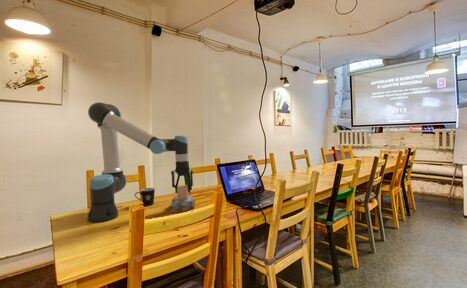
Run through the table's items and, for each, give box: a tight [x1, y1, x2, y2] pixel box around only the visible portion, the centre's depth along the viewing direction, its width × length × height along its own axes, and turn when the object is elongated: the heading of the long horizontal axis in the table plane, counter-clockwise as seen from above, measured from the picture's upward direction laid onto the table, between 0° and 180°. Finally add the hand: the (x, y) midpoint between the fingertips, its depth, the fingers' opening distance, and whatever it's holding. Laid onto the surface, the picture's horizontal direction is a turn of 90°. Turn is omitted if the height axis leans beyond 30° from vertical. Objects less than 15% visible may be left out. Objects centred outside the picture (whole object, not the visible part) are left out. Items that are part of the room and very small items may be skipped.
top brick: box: [178, 184, 188, 200], centre depth 151 cm, size 5×5×8 cm
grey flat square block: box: [169, 195, 196, 213], centre depth 151 cm, size 14×14×6 cm
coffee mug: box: [134, 187, 156, 207], centre depth 161 cm, size 12×9×10 cm
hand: (183, 197), depth 151 cm, fingers closed on top brick, 5 cm apart
